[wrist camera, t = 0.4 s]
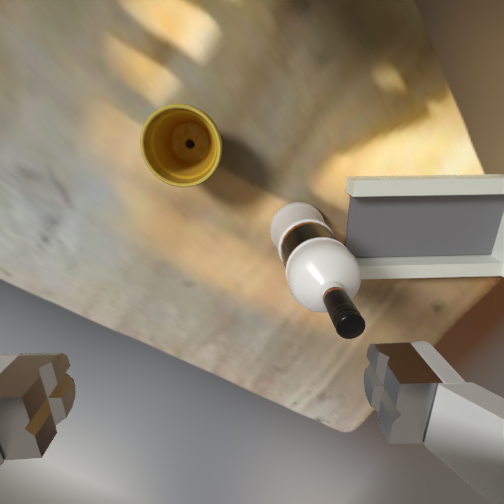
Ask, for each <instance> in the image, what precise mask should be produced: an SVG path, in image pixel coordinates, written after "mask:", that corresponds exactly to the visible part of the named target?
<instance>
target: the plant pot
mask: <svg viewBox="0 0 504 504" xmlns="http://www.w3.org/2000/svg"><path fill="white" fill-rule="evenodd" d="M188 140H192V141H193V142H194V147H192V148H189V147H187V145H186V142H187V141H188ZM140 145H141V152H142V156H143V158H144V161H145V163H146V165H147V166H148V168H149V169H150V171H151V172H152V173H153V174H154V175H155V176H156V177H158V178H159V179H160V180H162V181H163V182H165V183H167V184H170V185H173V186H177V187H191V186H195V185H198V184H200V183H202V182H204V181H206V180H207V179H208V178H209V177H210V176H211V175H212V174H213V173H214V172H215V170H216V169H217V167H218V165H219V162H220V159H221V155H222V140H221V135H220V132H219V130H218V128H217V126H216V124H215V123H214V121H213V120H212V119H211V118H210V117H209V116H208V115H207V114H206V113H205V112H203V111H202V110H200V109H198V108H196V107H193V106H190V105H186V104H171V105H167V106H164V107H162V108H160V109H158V110H156V111H155V112H154V113H153V114H152V115H151V116H150V117H149V118H148V119H147V121H146V122H145V124H144V126H143V129H142V132H141V139H140Z"/></svg>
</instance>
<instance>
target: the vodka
mask: <svg viewBox="0 0 504 504" xmlns="http://www.w3.org/2000/svg"><path fill="white" fill-rule="evenodd" d="M270 235H271V238H272V241H273V243H274V245H275V246H276V247H277V249H278V252H279V256H280V258H281V260H282V262H283V263H284V266H285V269H286V278H287V281H288V284H289V288H290V291H291V294H292V295H293V297H294V298H295V299H296V300H297V301H298V302H299V303H300V304H301V305H302V306H304V307H305V308H307V309H309V310H312V311H315V312H328V313H329V315H330V318H331V320H332V322H333V324H334V326H335V328H336V331H337V333H338V334H339V335H340V336H341V337H343V338H345V339H352V338H356V337H358V336H359V335H361V334H362V333H363V331H364V329H365V321H364V319H363V318H362V316H361V315H360V313H359V311H358V310H357V309H356V307H355V305H354V304H353V302H352V301H351V300H352V299H353V298H354V297H355V296H356V294H357V292H358V290H359V288H360V284H361V270H360V266H359V263H358V261H357V260H356V258H355V257H354V256H353V255H352V254H351V252H350V251H349V250H348V249H347V248H346V247H345V246H344V245H343V244H342V243H341V242H339V240H338V239H337V238H336V237H335V236H334V234H333V232H332V230H331V229H330V228H329V227H328V226H327V225H326V224H325V222H324V219H323V217H322V215H321V214H320V212H319V211H318V210H317V209H316V208H315V207H313V206H312V205H310V204H308V203H304V202H293V203H289V204H287V205H285V206H283V207H282V208H280V209H279V210H278V211H277V212H276V213H275V215H274V216H273V218H272V221H271V224H270Z"/></svg>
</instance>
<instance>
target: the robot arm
mask: <svg viewBox="0 0 504 504" xmlns="http://www.w3.org/2000/svg"><path fill="white" fill-rule="evenodd" d="M366 357H367V358H368V360H369V362H370V365H369V366H368V367H367V368H366V369H365V371H364V388H365V393H366V396H367V399H368V401H369V403H370V406H371V407H372V408H374V409H375V410H377V411H378V412H379V415H378V422H379V424H380V426H381V428H382V430H383V432H384V434H385V436H386V438H387V440H388V442H389V443H390V444H392V443H393V444H394V443H424V446H425V447H427V448H428V449H429V450H430V451H431V452H432V453H433V454H435V455H436V456H437V457H438V458H439V459H441V460H442V461H443V462H444V463H445V464H446V465H447V466H449V467H450V468H451V469H452V470H453V471H454V472H456V473H457V474H458V475H459V476H460V477H461V478H463V479H464V480H465V481H466V482H467V483H468V484H469V485H471V486H472V487H473V488H474V489H475V490H476V491H478V492H479V493H480V494H481V495H482V496H483V497H484V498H486V499H487V500H488V501H489V502H490V503H491V504H504V398H502V397H500V396H498V395H496V394H494V393H492V392H490V391H488V390H486V389H484V388H482V387H480V386H478V385H476V384H474V383H472V382H470V383H469V382H468V383H466V382H465V381H464V380H463V379H462V378H461V377H460V376H459V374H458V373H457V372H456V371H455V370H454V369H453V368H452V367H451V366H450V365H449V364H448V363H447V361H446V360H445V359H444V358H443V357H442V356H441V355H440V354H439V353H438V352H437V351H436V350H435V348H434V347H433V346H432V345H431V344H430V343H428V342H426V341H413V342H406V343H380V344H370V345H369V347H368V349H367V356H366ZM69 367H70V364H69V360H68V357H67V355H65V354H63V353H25V354H22V353H17V354H4V355H1V356H0V465H1V464H3V463H4V460H14V459H28V458H42V456H43V454H44V453H45V451H46V449H47V448H48V447H49V445H50V443H51V442H52V440H53V438H54V437H55V435H56V434H57V430H56V425H57V424H58V423H59V422H61V421H62V420H64V419H65V418H66V417H67V415H68V414H69V412H70V410H71V408H72V406H73V403H74V399H75V383H74V379H72V378H71V377H70V376H69V375H68V374H67V373H66V372H67V370H68V369H69Z"/></svg>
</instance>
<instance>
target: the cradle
mask: <svg viewBox="0 0 504 504" xmlns="http://www.w3.org/2000/svg"><path fill="white" fill-rule="evenodd" d="M345 192H346V193H348V194H349V195H350V203H349V213H348V222H347V232H346V241H345V247H346V248H347V249H348V250H349V251H350V252H351V254H352V255H353V256H354V257H355V258H356V260H357V261H358V263H359V266H360V270H361V279H397V278H437V277H477V276H502V277H504V174H491V175H490V174H486V175H420V176H354V177H346V185H345Z"/></svg>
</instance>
